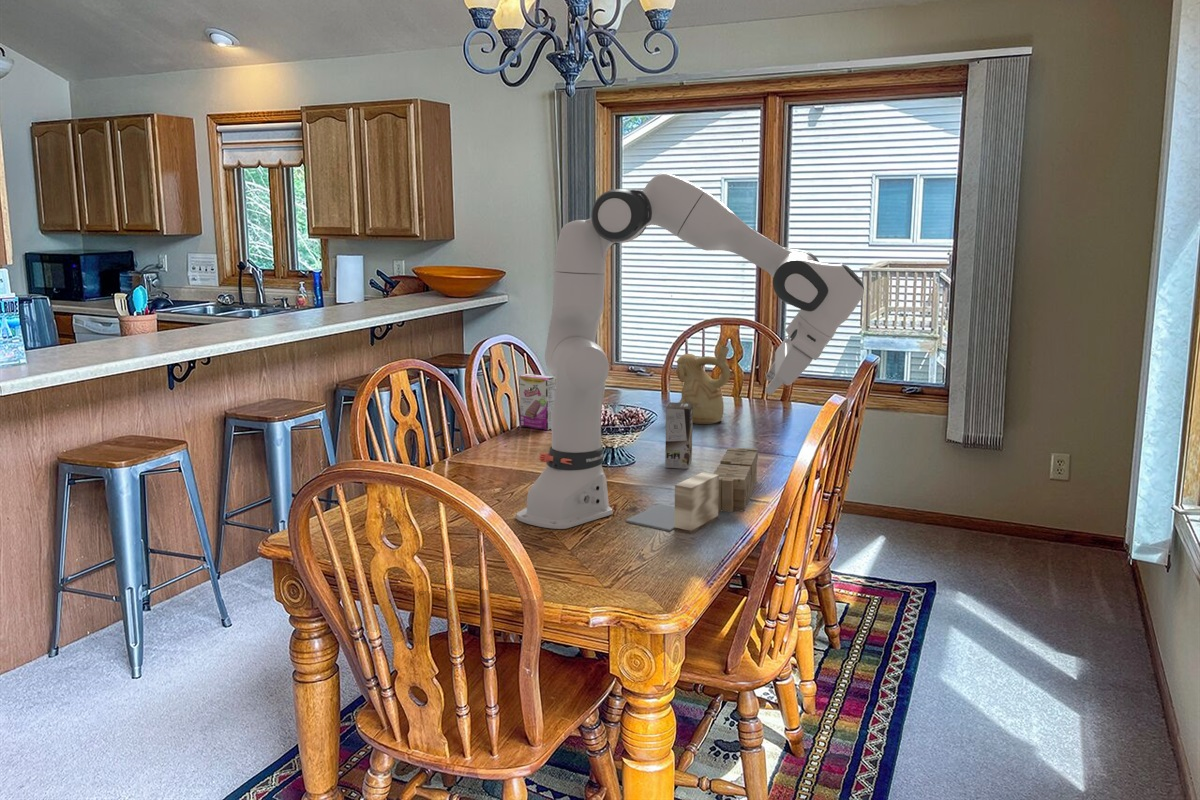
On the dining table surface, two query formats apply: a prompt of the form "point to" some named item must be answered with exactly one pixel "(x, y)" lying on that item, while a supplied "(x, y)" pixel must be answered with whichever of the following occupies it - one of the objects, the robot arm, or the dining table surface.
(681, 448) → the coffee box
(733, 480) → the block tower
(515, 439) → the dining table surface
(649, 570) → the dining table surface
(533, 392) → the candy bar box
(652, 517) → the mat
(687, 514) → the maple block
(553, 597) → the dining table surface
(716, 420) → the ceramic vessel
